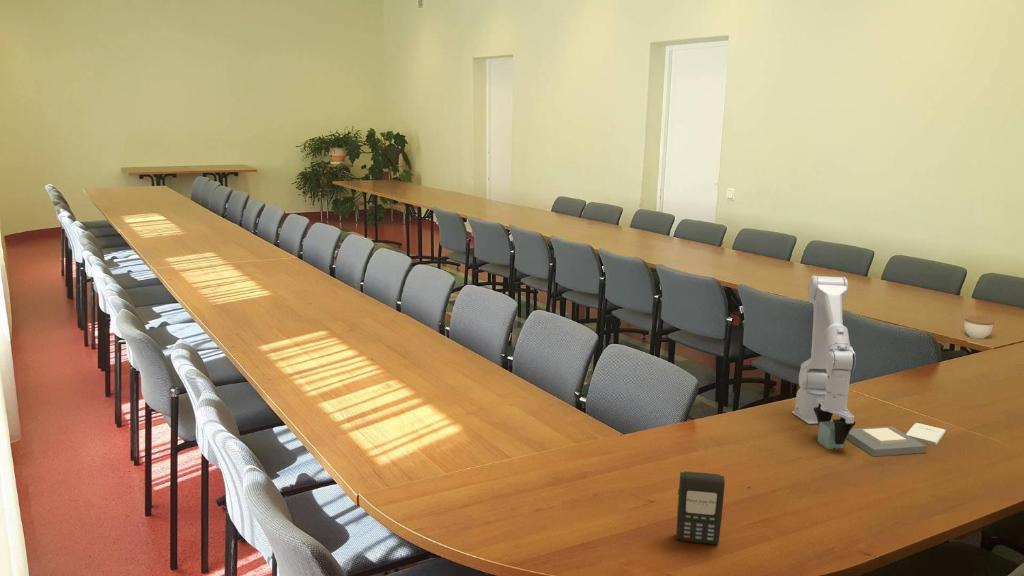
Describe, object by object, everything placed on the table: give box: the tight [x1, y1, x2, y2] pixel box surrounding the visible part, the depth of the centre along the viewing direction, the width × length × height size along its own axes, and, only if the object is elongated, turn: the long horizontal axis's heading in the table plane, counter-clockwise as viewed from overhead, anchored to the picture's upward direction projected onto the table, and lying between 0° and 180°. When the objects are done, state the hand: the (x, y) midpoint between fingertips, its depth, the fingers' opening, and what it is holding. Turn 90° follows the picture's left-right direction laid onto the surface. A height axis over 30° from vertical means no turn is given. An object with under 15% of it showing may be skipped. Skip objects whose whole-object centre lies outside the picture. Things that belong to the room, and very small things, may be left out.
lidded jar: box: [963, 314, 995, 340], centre depth 332 cm, size 11×11×9 cm
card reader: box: [676, 471, 726, 545], centre depth 165 cm, size 9×4×15 cm, turn 81°
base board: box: [845, 425, 927, 457], centre depth 218 cm, size 14×16×3 cm
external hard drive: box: [905, 422, 946, 446], centre depth 226 cm, size 2×8×12 cm
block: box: [816, 420, 846, 450], centre depth 217 cm, size 5×5×6 cm
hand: (831, 438), depth 217 cm, fingers open, 7 cm apart
